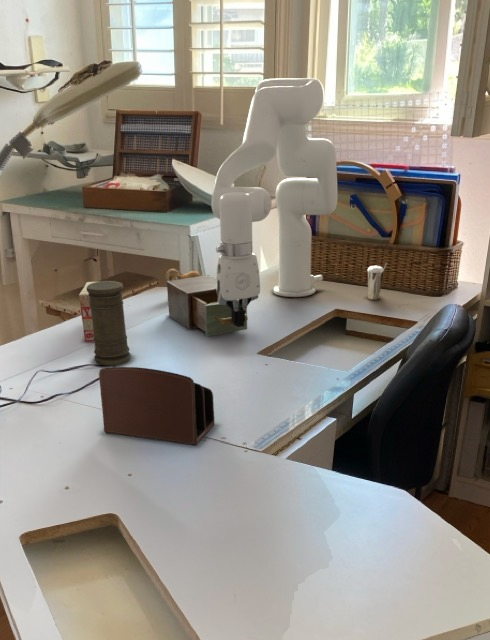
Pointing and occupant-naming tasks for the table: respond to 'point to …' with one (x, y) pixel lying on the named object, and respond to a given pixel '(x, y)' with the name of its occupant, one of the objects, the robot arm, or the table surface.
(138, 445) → the table surface
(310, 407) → the table surface
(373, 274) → the milkshake
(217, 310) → the drawer
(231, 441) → the table surface
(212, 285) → the cabinet
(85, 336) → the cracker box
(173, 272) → the lion figurine
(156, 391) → the letter holder
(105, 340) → the container
